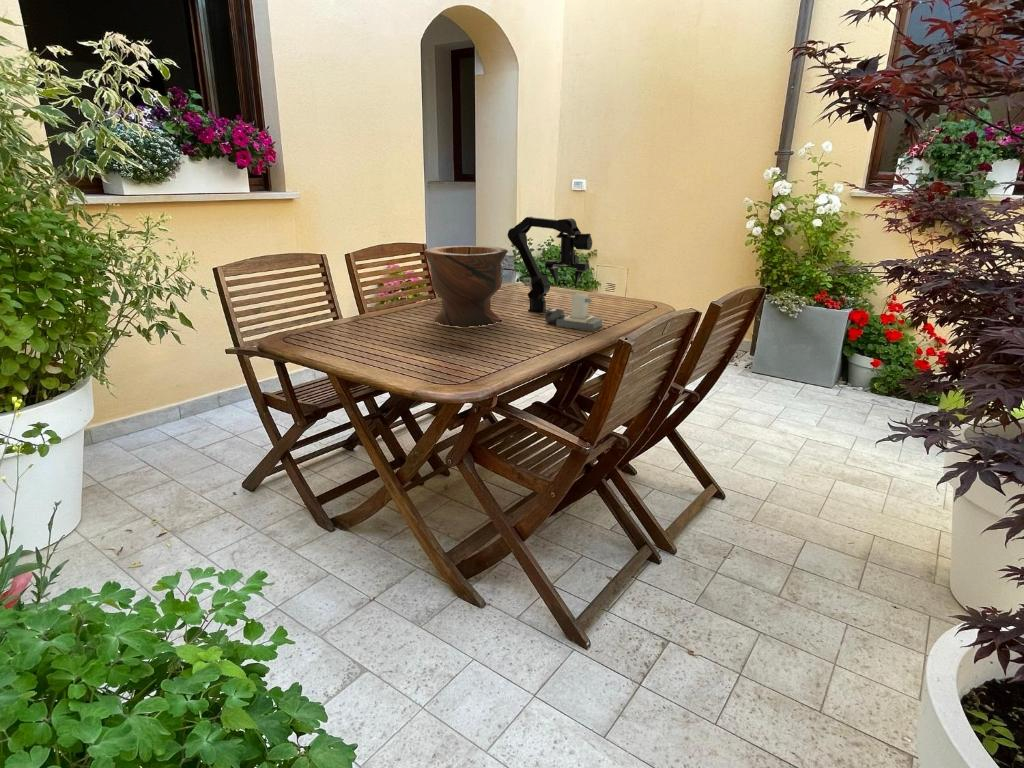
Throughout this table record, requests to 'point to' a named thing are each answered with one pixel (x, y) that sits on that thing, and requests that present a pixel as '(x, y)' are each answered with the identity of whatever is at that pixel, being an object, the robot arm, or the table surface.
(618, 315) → the table surface
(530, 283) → the mechanical component
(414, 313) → the table surface
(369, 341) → the table surface
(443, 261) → the wooden planter
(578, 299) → the cream block
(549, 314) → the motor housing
